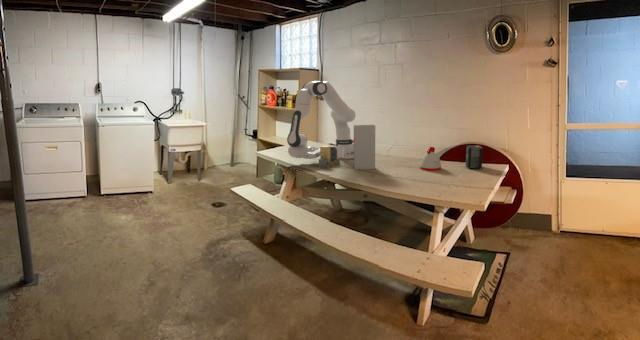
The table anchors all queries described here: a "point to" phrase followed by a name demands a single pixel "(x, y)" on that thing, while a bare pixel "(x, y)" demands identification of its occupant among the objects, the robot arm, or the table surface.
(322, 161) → the bookend
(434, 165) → the grey and red dome
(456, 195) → the table surface
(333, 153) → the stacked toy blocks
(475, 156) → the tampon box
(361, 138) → the tall grey box
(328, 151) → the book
